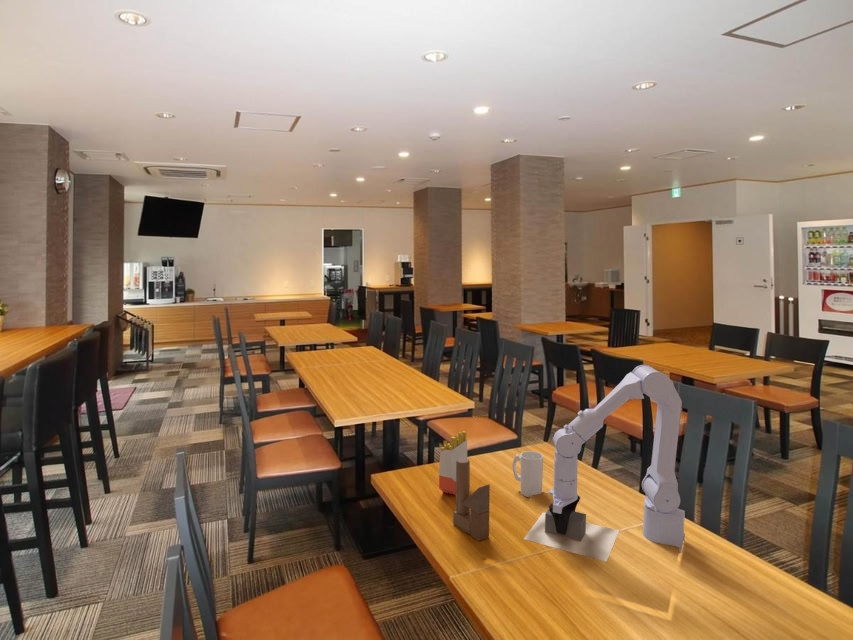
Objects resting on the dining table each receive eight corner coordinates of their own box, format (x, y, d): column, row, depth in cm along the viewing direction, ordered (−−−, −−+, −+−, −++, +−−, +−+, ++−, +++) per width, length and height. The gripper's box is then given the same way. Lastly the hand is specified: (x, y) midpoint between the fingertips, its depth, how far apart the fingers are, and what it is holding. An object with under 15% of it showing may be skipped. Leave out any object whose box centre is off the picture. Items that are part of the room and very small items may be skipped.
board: (619, 534, 134) (619, 530, 134) (606, 565, 120) (606, 561, 120) (543, 515, 144) (543, 512, 144) (523, 542, 130) (523, 539, 130)
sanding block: (585, 532, 132) (586, 514, 132) (580, 542, 128) (581, 522, 128) (550, 524, 137) (551, 505, 136) (544, 532, 133) (545, 513, 132)
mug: (546, 493, 158) (547, 454, 156) (535, 500, 153) (535, 461, 151) (518, 483, 164) (519, 446, 163) (506, 490, 159) (506, 452, 158)
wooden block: (478, 541, 131) (479, 473, 129) (452, 524, 139) (452, 459, 137) (489, 537, 133) (490, 469, 131) (463, 520, 142) (463, 456, 139)
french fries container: (438, 495, 156) (437, 437, 154) (454, 482, 166) (454, 427, 164) (451, 498, 154) (451, 440, 152) (467, 485, 163) (467, 429, 161)
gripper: (558, 464, 139) (556, 512, 141) (541, 484, 127) (540, 537, 128) (584, 469, 136) (583, 518, 137) (570, 490, 123) (568, 544, 125)
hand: (564, 528), depth 133 cm, fingers closed on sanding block, 5 cm apart
